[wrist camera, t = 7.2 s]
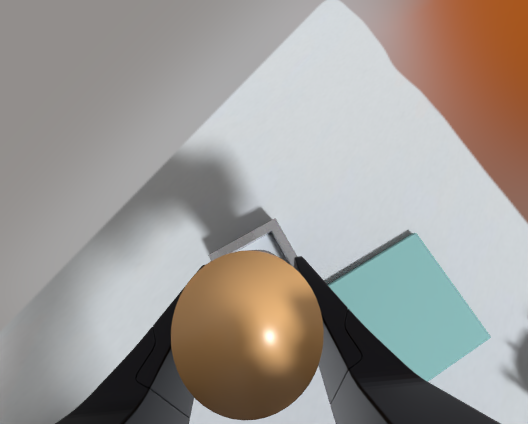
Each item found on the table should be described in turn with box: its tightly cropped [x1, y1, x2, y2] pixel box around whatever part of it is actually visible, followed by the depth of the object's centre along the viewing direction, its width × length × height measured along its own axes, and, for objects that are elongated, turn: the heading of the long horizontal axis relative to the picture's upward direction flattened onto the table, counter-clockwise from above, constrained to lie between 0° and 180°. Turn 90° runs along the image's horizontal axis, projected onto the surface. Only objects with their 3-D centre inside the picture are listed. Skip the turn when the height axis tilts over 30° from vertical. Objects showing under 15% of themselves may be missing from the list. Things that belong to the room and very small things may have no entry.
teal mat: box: [328, 233, 491, 382], centre depth 21 cm, size 13×13×1 cm
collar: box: [209, 219, 297, 267], centre depth 21 cm, size 8×8×2 cm
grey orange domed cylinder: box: [171, 250, 324, 420], centre depth 11 cm, size 4×4×11 cm
